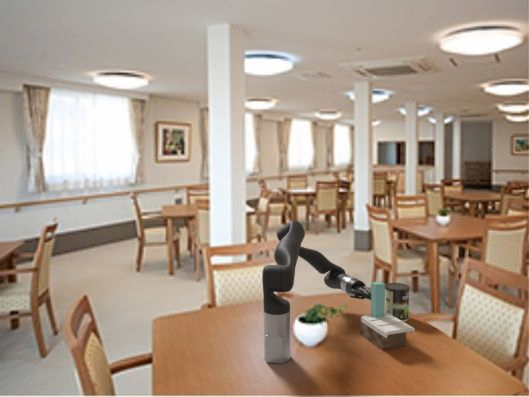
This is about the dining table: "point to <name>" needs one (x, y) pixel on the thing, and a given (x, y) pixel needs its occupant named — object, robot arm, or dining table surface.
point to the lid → (383, 314)
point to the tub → (383, 338)
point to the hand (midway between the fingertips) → (375, 299)
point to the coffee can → (397, 300)
